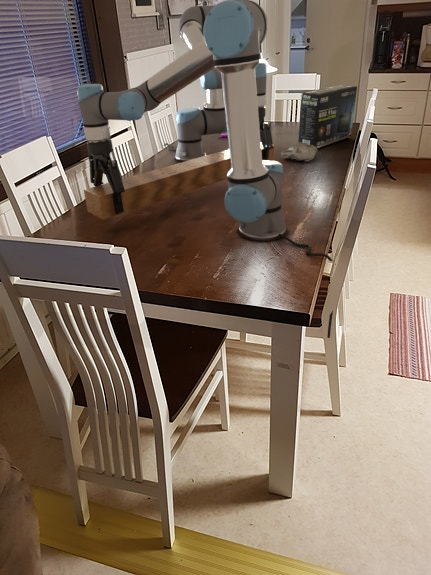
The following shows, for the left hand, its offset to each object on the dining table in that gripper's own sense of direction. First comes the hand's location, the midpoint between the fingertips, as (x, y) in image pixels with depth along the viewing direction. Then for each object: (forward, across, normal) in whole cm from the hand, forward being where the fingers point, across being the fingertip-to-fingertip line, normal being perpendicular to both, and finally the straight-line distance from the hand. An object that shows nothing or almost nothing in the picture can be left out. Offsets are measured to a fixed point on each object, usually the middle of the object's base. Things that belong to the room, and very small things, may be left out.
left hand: (255, 162), depth 190 cm
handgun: (+9, +61, -44) cm, 75 cm away
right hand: (-1, -1, +69) cm, 69 cm away
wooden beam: (0, 0, +35) cm, 35 cm away
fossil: (+8, +9, -40) cm, 42 cm away
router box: (+9, +16, -71) cm, 73 cm away
